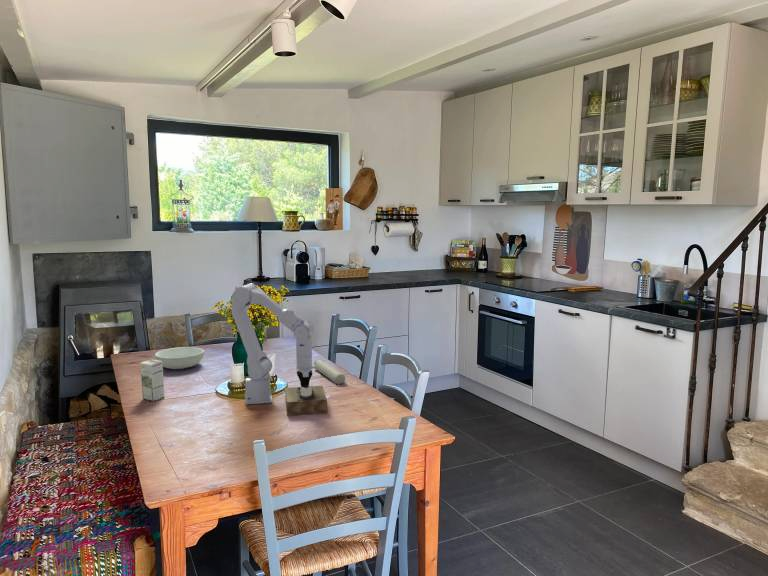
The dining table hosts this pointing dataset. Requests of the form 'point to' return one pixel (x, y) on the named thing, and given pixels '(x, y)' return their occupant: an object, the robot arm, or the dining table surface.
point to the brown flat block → (305, 401)
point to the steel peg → (306, 392)
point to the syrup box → (152, 379)
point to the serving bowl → (180, 357)
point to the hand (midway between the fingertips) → (304, 390)
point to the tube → (329, 371)
